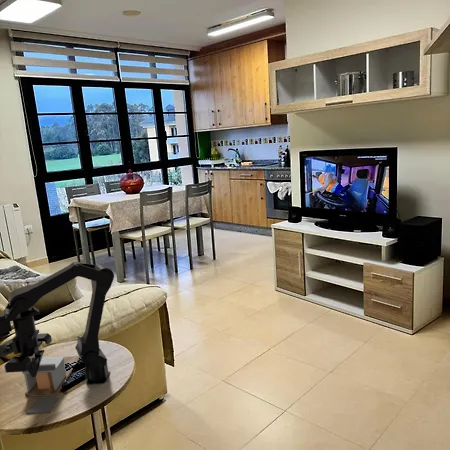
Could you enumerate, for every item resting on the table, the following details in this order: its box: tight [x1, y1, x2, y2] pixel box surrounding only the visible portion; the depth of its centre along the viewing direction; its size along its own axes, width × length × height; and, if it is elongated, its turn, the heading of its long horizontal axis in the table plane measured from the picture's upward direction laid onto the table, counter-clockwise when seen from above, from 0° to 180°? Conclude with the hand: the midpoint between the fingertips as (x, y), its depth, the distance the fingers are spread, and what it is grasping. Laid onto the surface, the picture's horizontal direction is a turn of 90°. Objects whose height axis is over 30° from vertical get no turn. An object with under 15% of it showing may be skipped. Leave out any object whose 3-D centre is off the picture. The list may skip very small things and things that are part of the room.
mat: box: [25, 396, 59, 415], centre depth 130 cm, size 7×7×1 cm
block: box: [36, 372, 54, 390], centre depth 139 cm, size 4×5×6 cm
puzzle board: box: [24, 355, 80, 397], centre depth 146 cm, size 10×22×1 cm, turn 179°
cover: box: [21, 356, 66, 392], centre depth 139 cm, size 10×8×8 cm
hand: (34, 376), depth 131 cm, fingers closed
